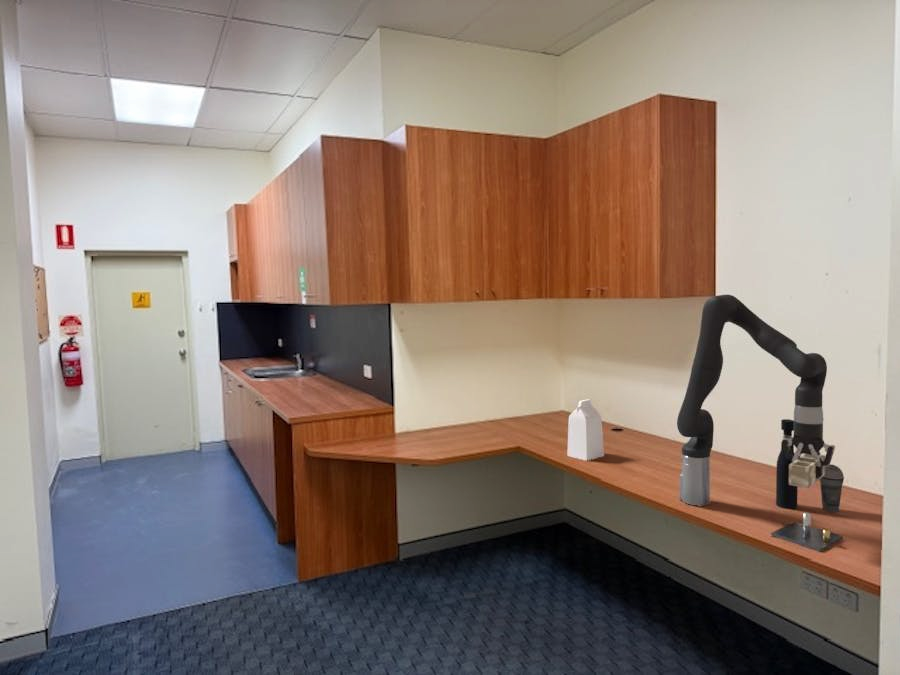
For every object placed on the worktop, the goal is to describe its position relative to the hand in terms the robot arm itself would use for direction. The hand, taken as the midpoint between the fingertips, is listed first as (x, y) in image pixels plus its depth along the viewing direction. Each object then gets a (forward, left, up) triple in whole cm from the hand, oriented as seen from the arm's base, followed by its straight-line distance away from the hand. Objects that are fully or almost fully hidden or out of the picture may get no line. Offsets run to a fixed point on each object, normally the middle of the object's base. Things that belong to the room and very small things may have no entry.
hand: (807, 475), depth 179 cm
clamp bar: (0, 0, -1) cm, 1 cm away
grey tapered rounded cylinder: (-6, +29, -19) cm, 35 cm away
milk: (-104, +15, -19) cm, 107 cm away
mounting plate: (0, 0, -19) cm, 19 cm away
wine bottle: (-17, +22, -19) cm, 34 cm away
